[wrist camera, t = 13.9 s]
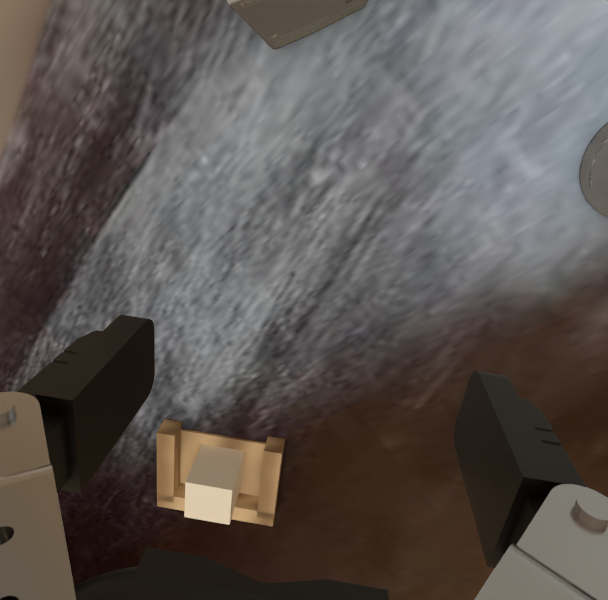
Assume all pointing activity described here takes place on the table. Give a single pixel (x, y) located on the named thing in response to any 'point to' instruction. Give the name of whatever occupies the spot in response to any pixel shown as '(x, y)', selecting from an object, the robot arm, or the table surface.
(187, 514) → the block
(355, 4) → the skincare box
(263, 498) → the rest cradle
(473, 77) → the table surface
